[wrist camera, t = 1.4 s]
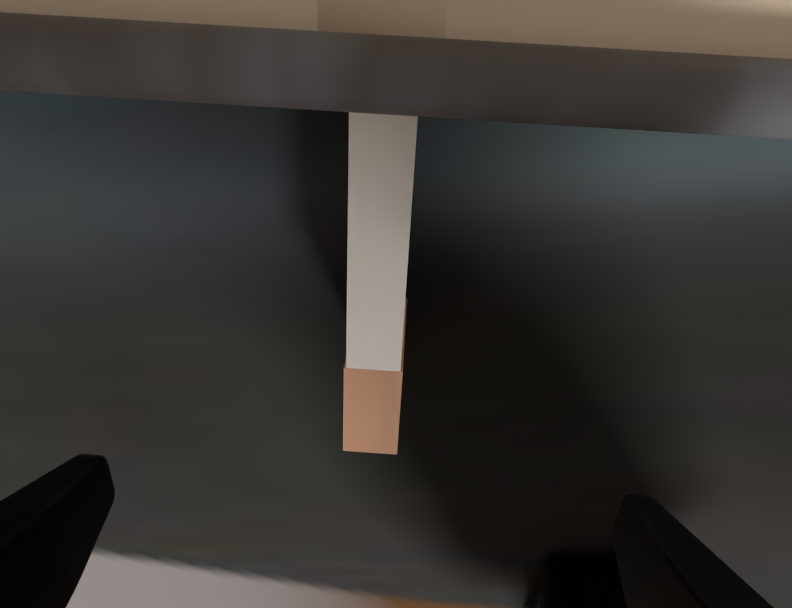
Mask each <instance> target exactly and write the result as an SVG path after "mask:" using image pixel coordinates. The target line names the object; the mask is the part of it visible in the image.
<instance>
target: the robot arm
mask: <svg viewBox="0 0 792 608" xmlns="http://www.w3.org/2000/svg"><path fill="white" fill-rule="evenodd" d="M114 495H115V490H114V485H113V481H112V477H111V473H110V469H109V465H108V462H107V459H106V458H105V457H104V456H101V455H90V454H80V455H77V456H75V457H73V458H72V459H70V460H68V461H67V462H65V463H63V464H62V465H60V466H58V467H57V468H55V469H53V470H52V471H50V472H48V473H47V474H45V475H43V476H42V477H40V478H38V479H36V480H35V481H33V482H31V483H30V484H28V485H26V486H25V487H23V488H21V489H20V490H18V491H16V492H15V493H13V494H11V495H10V496H8V497H6V498H5V499H3V500H1V501H0V608H65V607H66V606H67V604H68V602H69V600H70V598H71V596H72V594H73V592H74V591H75V589H76V586H77V584H78V582H79V580H80V578H81V576H82V574H83V571H84V569H85V566H86V564H87V562H88V560H89V557H90V555H91V553H92V550H93V548H94V546H95V543H96V541H97V539H98V536H99V534H100V532H101V529H102V527H103V525H104V523H105V520H106V518H107V516H108V513H109V511H110V509H111V506H112V504H113V501H114ZM613 543H614V548H615V553H616V557H617V560H614V559H600V558H587V557H573V556H560V555H559V556H552V557H549V558H548V559H547V560H546V561H545V563H544V566H543V570H542V573H541V577H540V581H539V584H538V588H537V592H536V595H535V599H534V603H533V607H532V608H773V607H772V606H771V605H770V604H769V603H768V602H767V601H766V600H765V599H763V598H762V597H761V596H760V595H759V594H758V593H757V592H756V591H755V590H754V589H753V588H751V587H750V586H749V585H748V584H747V583H746V582H745V581H744V580H743V579H742V578H740V577H739V576H738V575H737V574H736V573H735V572H734V571H733V570H732V569H731V568H729V567H728V566H727V565H726V564H725V563H724V562H723V561H722V560H721V559H720V558H718V557H717V556H716V555H715V554H714V553H713V552H712V551H711V550H710V549H709V548H707V547H706V546H705V545H704V544H703V543H702V542H701V541H700V540H699V539H698V538H696V537H695V536H694V535H693V534H692V533H691V532H690V531H689V530H688V529H687V528H685V527H684V526H683V525H682V524H681V523H680V522H679V521H678V520H677V519H676V518H675V517H673V516H672V515H671V514H670V513H669V512H668V511H667V510H666V509H665V508H664V507H662V506H661V505H660V504H659V503H658V502H657V501H656V500H655V499H653V498H652V497H650V496H644V495H631V494H629V495H626V496H625V497H624V498H623V500H622V503H621V506H620V509H619V512H618V515H617V518H616V521H615V523H614V527H613Z"/></svg>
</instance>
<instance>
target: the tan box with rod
mask: <svg viewBox="0 0 792 608" xmlns="http://www.w3.org/2000/svg"><path fill="white" fill-rule="evenodd" d="M0 91H13V92H29V93H46V94H62V95H78V96H94V97H111V98H127V99H143V100H159V101H175V102H192V103H208V104H224V105H240V106H257V107H273V108H289V109H305V110H322V111H338V112H354V113H370V114H386V115H403V116H419V117H435V118H451V119H468V120H484V121H500V122H516V123H533V124H549V125H565V126H581V127H597V128H614V129H630V130H646V131H662V132H679V133H695V134H711V135H727V136H744V137H760V138H776V139H792V0H0Z"/></svg>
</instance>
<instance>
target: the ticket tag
mask: <svg viewBox="0 0 792 608" xmlns="http://www.w3.org/2000/svg"><path fill="white" fill-rule="evenodd" d="M417 121H418V116H403V115H386V114H370V113H354V112H349V154H348V242H347V330H346V360H345V365H344V401H343V451H354V452H367V453H381V454H395V455H397V447H398V433H399V418H400V404H401V390H402V376H403V359H404V342H405V325H406V308H407V298H406V283H407V268H408V254H409V239H410V224H411V209H412V195H413V180H414V165H415V150H416V136H417Z"/></svg>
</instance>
